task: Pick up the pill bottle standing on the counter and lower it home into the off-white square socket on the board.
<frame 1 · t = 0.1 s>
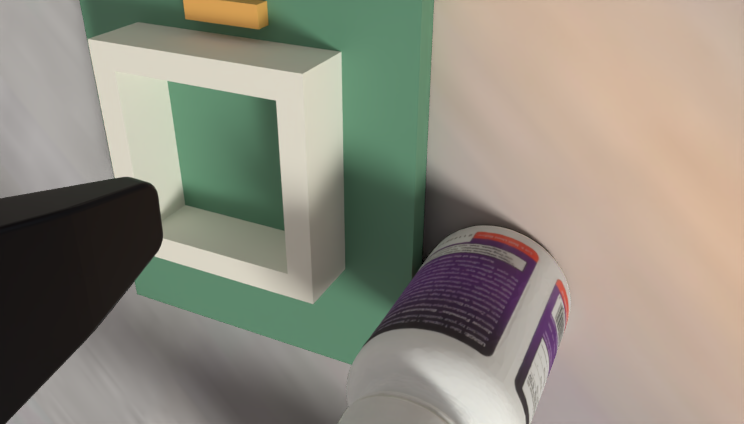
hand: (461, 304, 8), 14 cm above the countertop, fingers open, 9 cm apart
pill bottle: (500, 284, 26), on the countertop
board: (258, 138, 27), on the countertop
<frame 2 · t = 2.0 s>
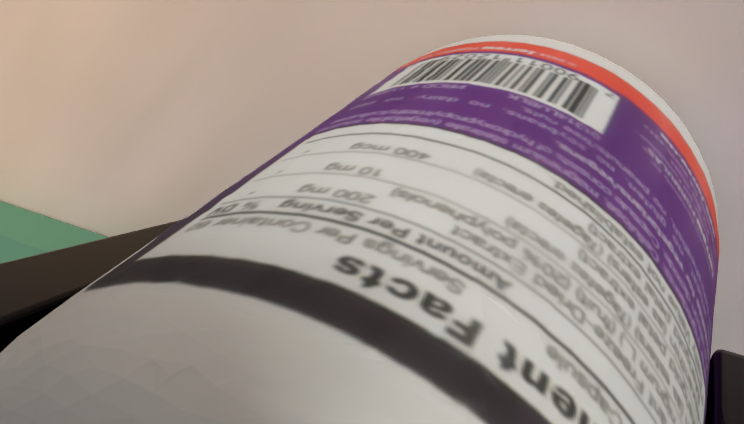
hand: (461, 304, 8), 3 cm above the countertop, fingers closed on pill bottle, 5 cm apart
pill bottle: (522, 205, 10), on the countertop, touching gripper
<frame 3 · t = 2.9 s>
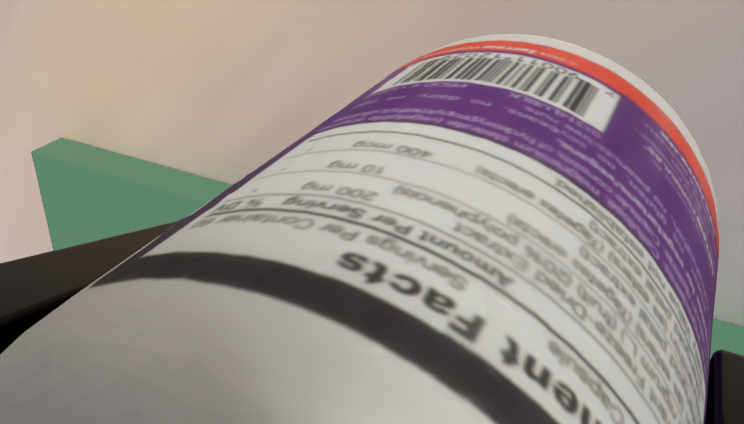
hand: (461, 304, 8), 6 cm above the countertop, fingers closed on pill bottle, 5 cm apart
pill bottle: (523, 204, 10), point 3 cm above the countertop, touching gripper
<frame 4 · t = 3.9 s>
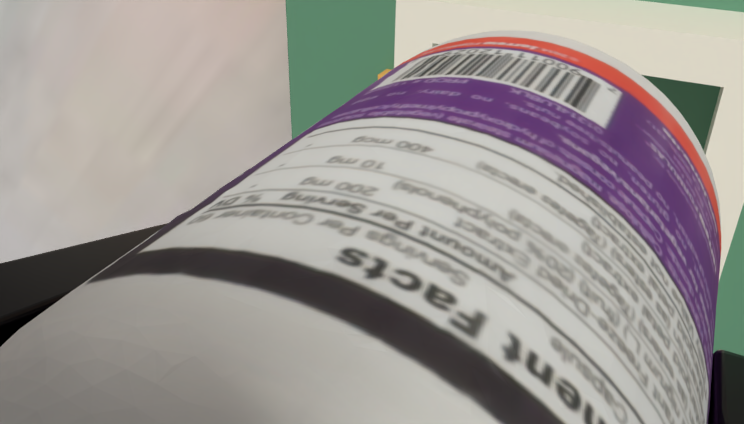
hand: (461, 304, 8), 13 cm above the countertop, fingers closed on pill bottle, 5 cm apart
pill bottle: (524, 201, 10), point 10 cm above the countertop, touching gripper
board: (577, 139, 20), on the countertop
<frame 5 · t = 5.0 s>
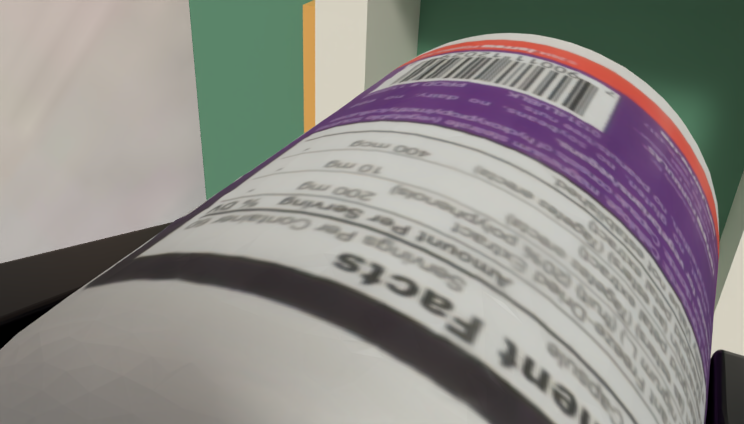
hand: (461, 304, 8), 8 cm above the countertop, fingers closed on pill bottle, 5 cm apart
pill bottle: (522, 204, 10), point 5 cm above the countertop, touching gripper
board: (578, 100, 15), on the countertop
when the fingers open (5 cm above the countertop, at t = 5.9 s): pill bottle drops 1 cm, resting on board.
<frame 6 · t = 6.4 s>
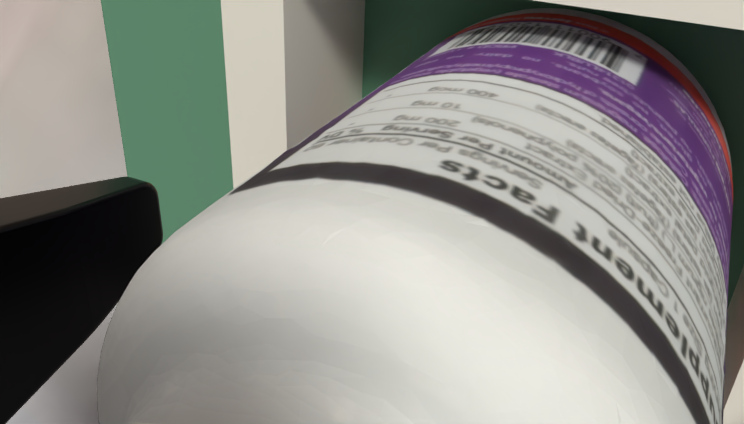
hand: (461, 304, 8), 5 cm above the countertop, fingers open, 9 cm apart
pill bottle: (552, 166, 12), point 1 cm above the countertop, touching board
board: (554, 149, 12), on the countertop
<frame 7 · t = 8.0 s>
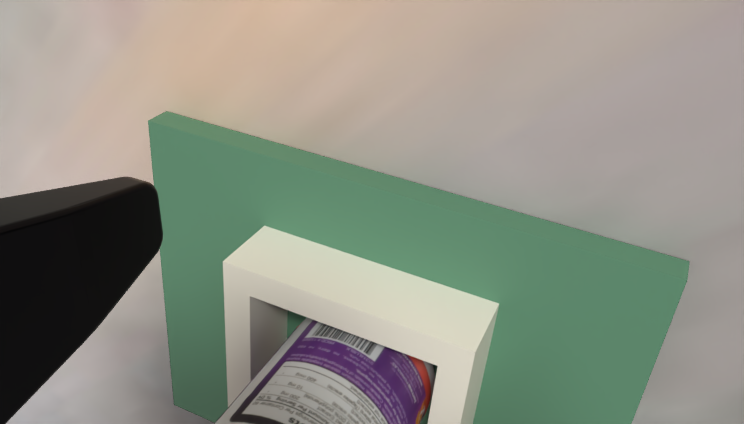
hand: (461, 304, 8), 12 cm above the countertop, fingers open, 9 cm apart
pill bottle: (371, 355, 26), point 1 cm above the countertop, touching board
board: (376, 341, 26), on the countertop
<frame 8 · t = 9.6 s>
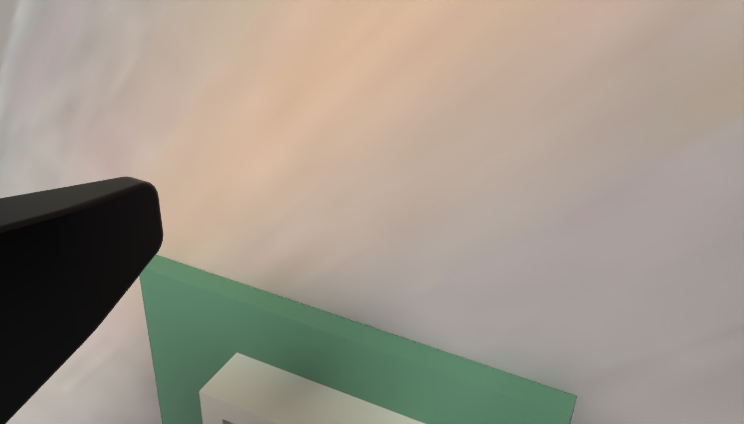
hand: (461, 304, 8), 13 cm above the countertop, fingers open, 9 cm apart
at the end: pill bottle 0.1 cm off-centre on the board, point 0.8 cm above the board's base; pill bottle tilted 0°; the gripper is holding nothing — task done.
